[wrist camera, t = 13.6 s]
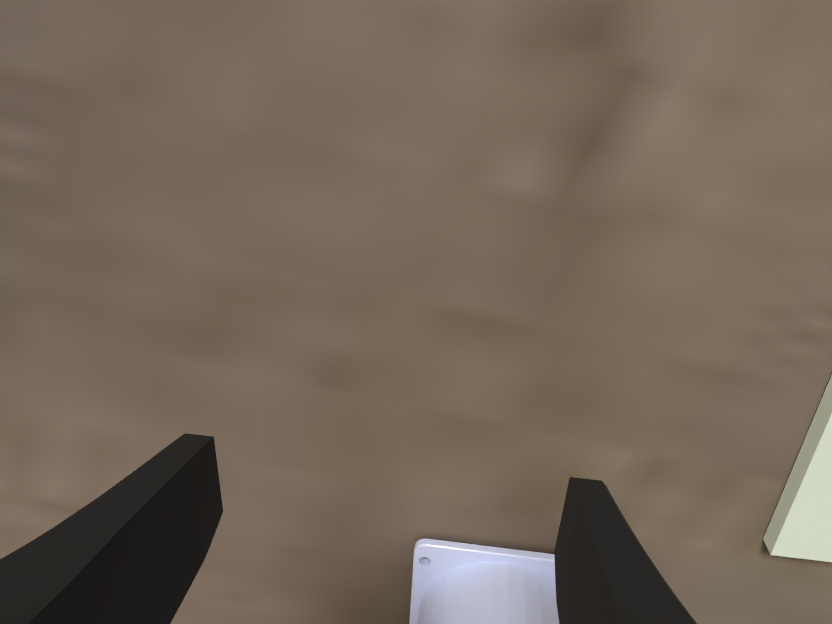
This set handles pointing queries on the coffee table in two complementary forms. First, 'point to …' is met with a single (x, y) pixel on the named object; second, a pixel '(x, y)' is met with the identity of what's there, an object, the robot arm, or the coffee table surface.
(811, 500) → the board
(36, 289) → the coffee table surface
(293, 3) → the coffee table surface
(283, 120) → the coffee table surface
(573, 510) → the robot arm
